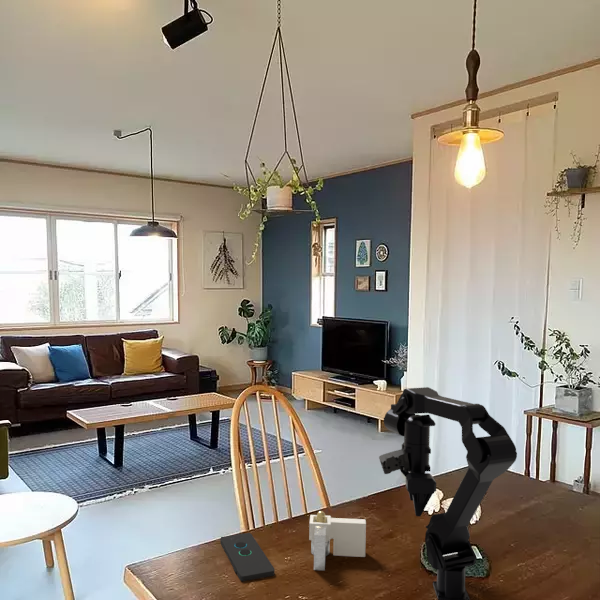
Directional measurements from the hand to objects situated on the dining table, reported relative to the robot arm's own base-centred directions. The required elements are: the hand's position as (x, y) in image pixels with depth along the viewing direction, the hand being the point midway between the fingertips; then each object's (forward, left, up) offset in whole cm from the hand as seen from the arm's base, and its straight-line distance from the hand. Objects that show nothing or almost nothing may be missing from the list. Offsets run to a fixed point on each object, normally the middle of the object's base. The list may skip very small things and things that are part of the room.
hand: (415, 507), depth 128 cm
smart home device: (-1, +39, -14) cm, 42 cm away
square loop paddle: (+3, +18, -13) cm, 22 cm away
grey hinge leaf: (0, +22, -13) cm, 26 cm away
